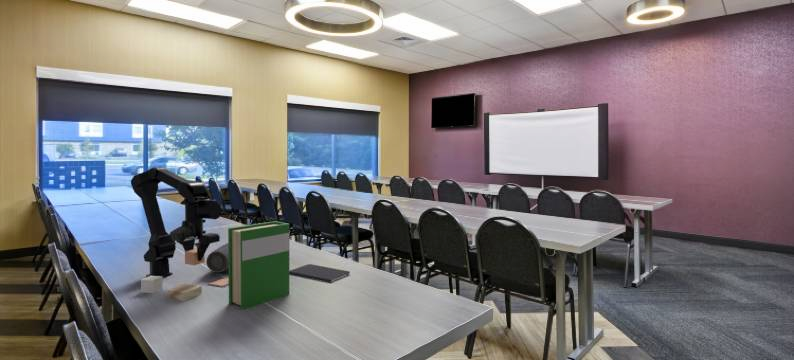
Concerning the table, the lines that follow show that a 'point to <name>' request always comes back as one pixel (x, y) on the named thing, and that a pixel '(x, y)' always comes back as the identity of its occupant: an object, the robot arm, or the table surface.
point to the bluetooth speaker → (218, 259)
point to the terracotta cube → (192, 257)
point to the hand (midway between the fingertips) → (194, 260)
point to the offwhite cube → (151, 284)
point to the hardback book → (258, 263)
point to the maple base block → (184, 292)
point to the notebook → (319, 273)
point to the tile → (220, 283)
